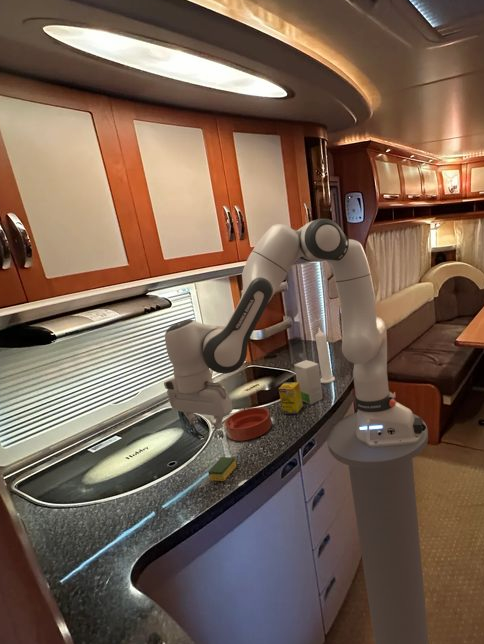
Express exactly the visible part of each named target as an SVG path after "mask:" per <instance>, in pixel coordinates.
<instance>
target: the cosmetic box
mask: <svg viewBox="0 0 484 644" xmlns="http://www.w3.org/2000/svg"><path fill="white" fill-rule="evenodd" d="M293 366H294V374H295V379H296V383H297V382H299V386H300V392H301V398H302V402H304V403H306V404H309V405H313V404H316V403H317V402H320V401H321V400H323V399H324V397H323V389H322V383H321V381H320V379H321V372H320V364H319V363H317V362H314V361H312V360H308V359H305V360H302V361H300V362H297V363H295V364H294V365H293Z"/></svg>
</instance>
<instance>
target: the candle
mask: <svg viewBox="0 0 484 644" xmlns="http://www.w3.org/2000/svg"><path fill="white" fill-rule="evenodd" d="M317 329H318V331H317V332H316V334H315V336H314V337H315V342H316V349H317V356H318V364H319V370H320V376H321V377H320V381H321V384H330V383H333V382H334V381H335V380H336V377H335V376H334V375H332V370H331V368H332V367H331V363H330V355H329V349H328V343H327V342H328V341H327V336H326V333H325V332H323V331H322V329H321V327H318V328H317Z"/></svg>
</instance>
